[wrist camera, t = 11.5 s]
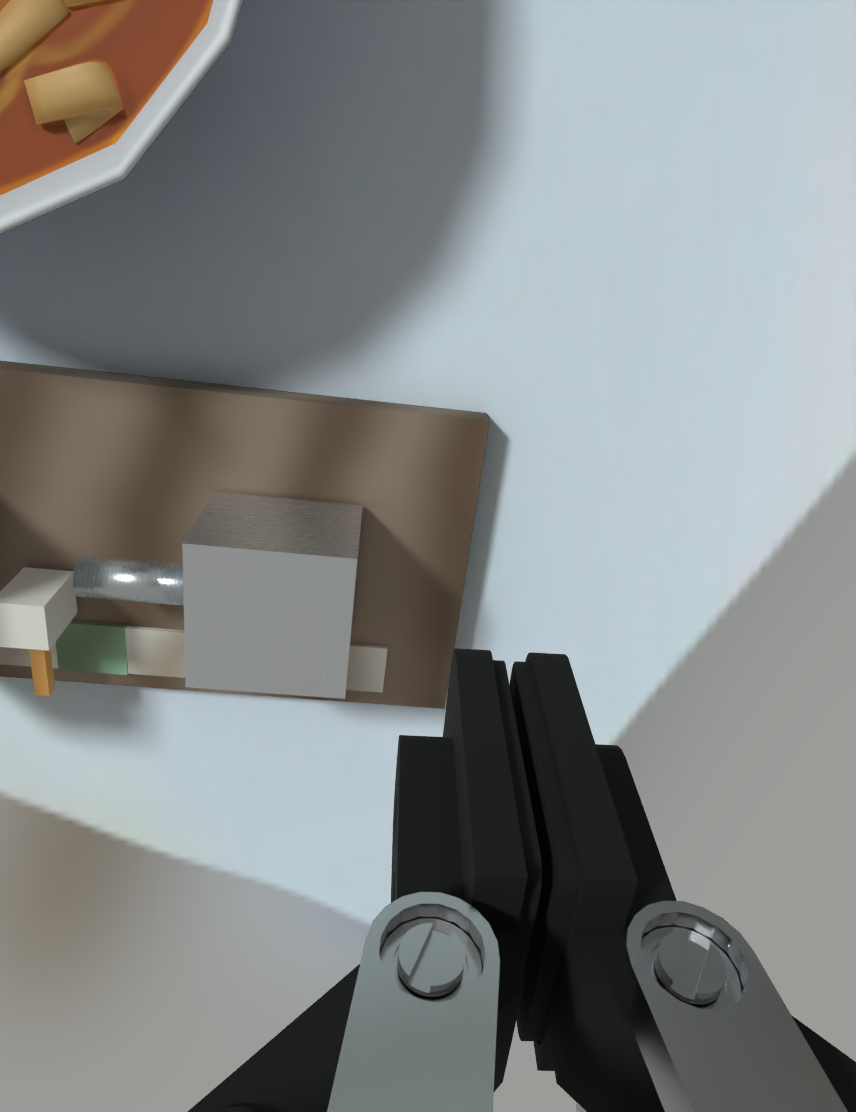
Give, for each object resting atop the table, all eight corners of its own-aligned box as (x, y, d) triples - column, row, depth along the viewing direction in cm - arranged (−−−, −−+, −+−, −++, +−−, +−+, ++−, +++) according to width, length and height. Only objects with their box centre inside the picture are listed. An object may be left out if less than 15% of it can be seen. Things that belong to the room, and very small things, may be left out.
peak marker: (73, 571, 32) (43, 606, 29) (82, 672, 34) (56, 713, 31) (24, 567, 32) (-11, 602, 29) (36, 668, 34) (5, 710, 31)
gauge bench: (486, 413, 31) (514, 482, 24) (442, 693, 37) (454, 819, 30) (-190, 340, 29) (-393, 392, 21) (-120, 651, 35) (-259, 776, 27)
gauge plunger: (362, 505, 31) (357, 559, 26) (351, 630, 34) (344, 699, 29) (98, 480, 30) (46, 531, 26) (107, 610, 33) (61, 678, 28)
